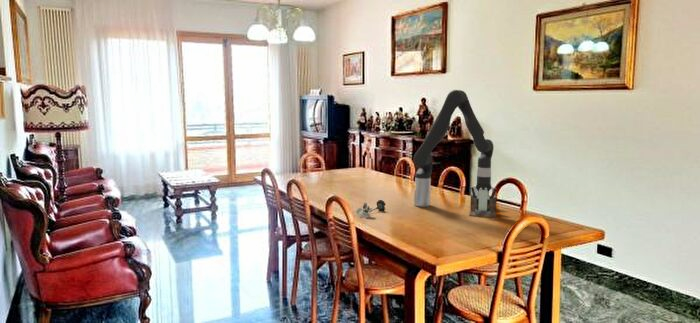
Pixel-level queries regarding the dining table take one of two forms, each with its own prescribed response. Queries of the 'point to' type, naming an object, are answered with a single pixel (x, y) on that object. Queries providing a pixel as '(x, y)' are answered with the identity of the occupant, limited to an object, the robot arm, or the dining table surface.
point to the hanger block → (482, 200)
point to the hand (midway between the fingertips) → (482, 205)
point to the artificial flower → (370, 209)
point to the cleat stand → (489, 213)
